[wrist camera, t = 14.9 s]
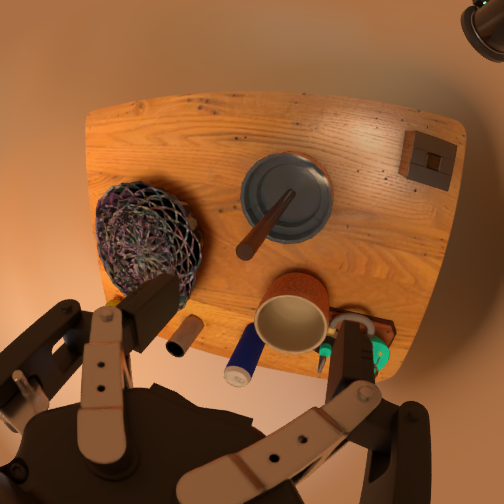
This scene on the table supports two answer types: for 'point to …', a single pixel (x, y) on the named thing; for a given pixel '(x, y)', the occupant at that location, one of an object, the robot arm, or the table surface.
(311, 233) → the bowl
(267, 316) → the planter
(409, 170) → the holder
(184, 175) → the table surface
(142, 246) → the decorative bowl
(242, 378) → the beverage can
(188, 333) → the cardboard tube
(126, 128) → the table surface
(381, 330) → the contraption on wooden base
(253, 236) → the stirring stick
